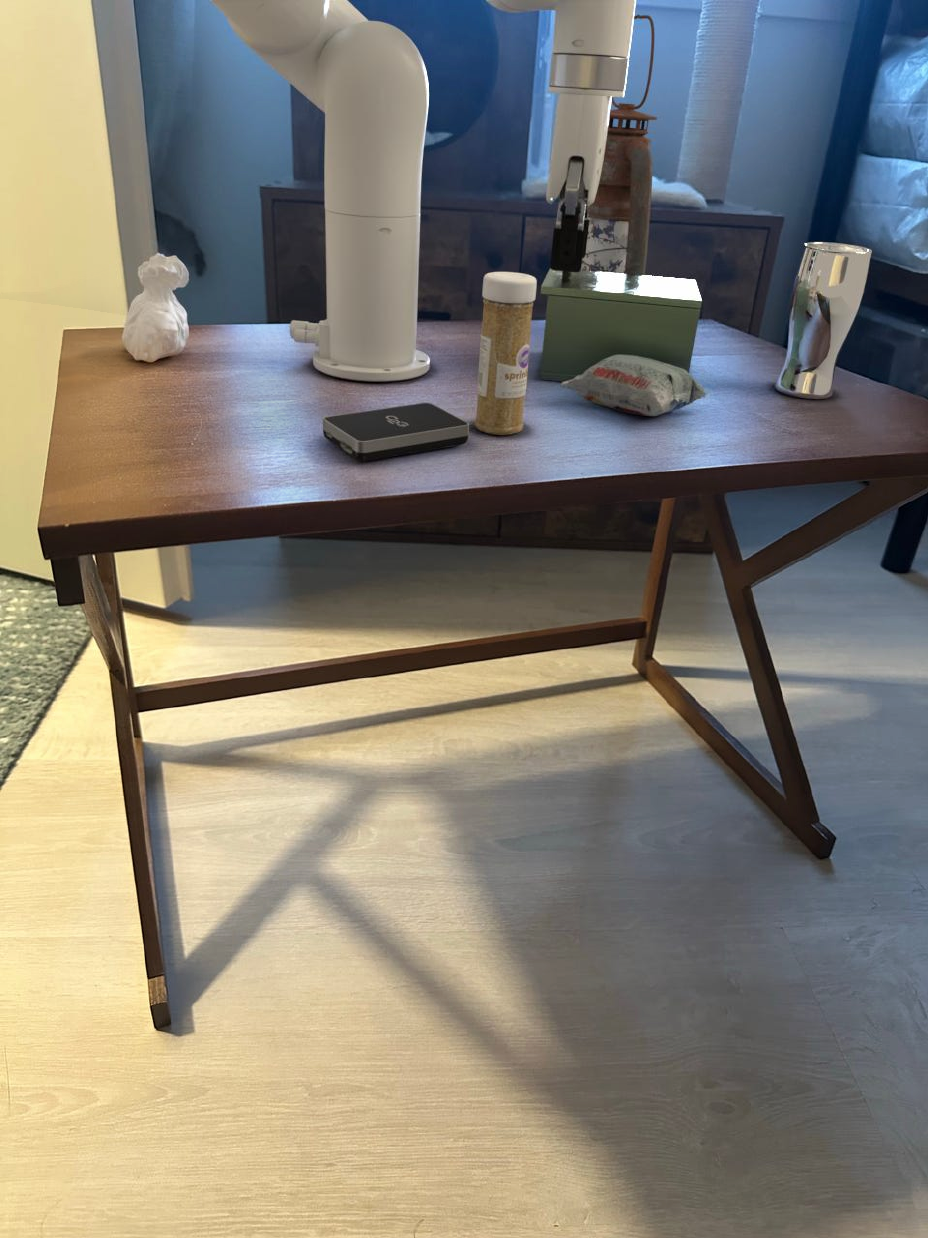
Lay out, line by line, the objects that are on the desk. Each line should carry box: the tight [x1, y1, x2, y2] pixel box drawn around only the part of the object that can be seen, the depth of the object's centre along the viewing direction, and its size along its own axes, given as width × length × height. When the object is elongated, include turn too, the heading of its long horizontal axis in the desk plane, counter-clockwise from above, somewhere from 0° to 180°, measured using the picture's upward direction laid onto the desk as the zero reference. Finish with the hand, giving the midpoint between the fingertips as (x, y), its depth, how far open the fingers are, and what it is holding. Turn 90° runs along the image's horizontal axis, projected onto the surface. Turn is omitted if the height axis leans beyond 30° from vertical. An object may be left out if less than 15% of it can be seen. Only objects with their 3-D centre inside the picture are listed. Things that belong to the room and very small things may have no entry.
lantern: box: [581, 13, 658, 276], centre depth 111 cm, size 11×16×35 cm
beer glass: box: [775, 241, 873, 400], centre depth 99 cm, size 7×7×15 cm
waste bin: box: [539, 295, 701, 383], centre depth 102 cm, size 16×12×9 cm
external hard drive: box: [322, 402, 470, 462], centre depth 79 cm, size 7×11×2 cm, turn 124°
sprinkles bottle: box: [474, 271, 538, 436], centre depth 82 cm, size 5×5×13 cm
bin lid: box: [540, 267, 703, 310], centre depth 99 cm, size 16×12×5 cm
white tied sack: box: [121, 252, 190, 363], centre depth 98 cm, size 12×8×11 cm
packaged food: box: [560, 354, 708, 417], centre depth 91 cm, size 9×12×5 cm
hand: (568, 263), depth 100 cm, fingers open, 8 cm apart
